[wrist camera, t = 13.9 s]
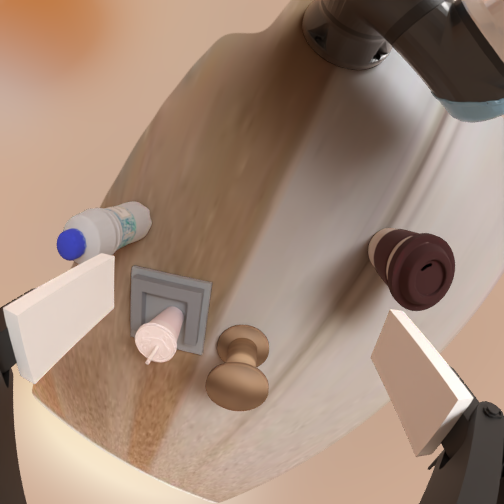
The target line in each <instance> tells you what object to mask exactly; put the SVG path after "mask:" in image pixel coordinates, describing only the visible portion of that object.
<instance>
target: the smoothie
mask: <svg viewBox="0 0 504 504" xmlns="http://www.w3.org/2000/svg"><path fill="white" fill-rule="evenodd" d="M183 320H184V315H183V313H182V311H181V310H180V309H179V308H177V307H174V306H170V307H167V308H166V309H165V310H163V311H162V312H161V313H160V314H159V315H157V316H156V317H155V318H154V319H152V320H151V321H150V322H149V323H146V324H143V325H142V326H140V328H139V329H138V331H137V332H136V335H135V343H136V346H137V348H138V350H139V351H140V352H141V354H142V355H144V356H145V357H146V358H148V359H147V360H146V362H145V363H146V364H147V365H149V363H150V362H151V360H152V361H155V362H166V361H168V360H170V359H171V358H172V357H173V355H174V354H175V352H176V350H177V339H178V336H179V333H180V330H181V326H182V323H183Z"/></svg>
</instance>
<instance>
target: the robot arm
mask: <svg viewBox="0 0 504 504" xmlns="http://www.w3.org/2000/svg"><path fill="white" fill-rule="evenodd" d="M302 28H303V33H304V36H305V38H306V40H307V42H308V44H309V45H310V46H311V48H312V49H313V50H314V51H315V52H316V53H317V54H318V55H320V56H321V57H322V58H324V59H325V60H327V61H329V62H330V63H332V64H335V65H337V66H340V67H343V68H347V69H354V70H363V69H369V68H372V67H375V66H377V65H378V64H380V63H381V62H382V61H383V60H384V59H385V58H386V57H387V56H388V55H389V53H390V51H391V49H392V47H393V48H394V49H395V50H396V51H397V52H398V53H399V54H400V55H401V56H402V57H403V58H404V59H405V60H406V62H407V63H408V64H409V65H410V66H411V67H412V68H413V69H414V71H415V72H416V73H417V74H418V75H419V76H420V78H421V79H422V80H423V81H424V82H425V84H426V85H427V86H428V87H429V88H430V90H431V93H432V94H433V96H434V97H435V98H436V99H438V100H439V101H440V102H441V104H442V105H443V106H444V107H445V109H446V110H447V111H448V112H449V114H450V115H451V116H452V117H454V118H456V119H458V120H460V121H463V122H481V121H486V120H490V119H493V118H496V117H499V116H501V115H503V114H504V0H456V1H454V0H314V1H313V2H312V3H311V4H310V5H309V6H308V7H307V9H306V11H305V14H304V18H303V23H302ZM114 260H115V256H112V255H108V254H104V253H101V254H99V255H97V256H95V257H93V258H91V259H89V260H87V261H85V262H83V263H81V264H79V265H77V266H76V267H74V268H72V269H70V270H68V271H66V272H65V273H63V274H61V275H59V276H57V277H56V278H53V279H52V280H50V281H48V282H46V283H45V284H43V285H41V286H39V287H37V288H34V289H31V290H30V291H28V292H26V293H24V295H21V296H20V297H18V298H17V299H14V300H12V301H11V302H9V303H7V304H6V305H4V306H2V307H1V308H0V504H27V503H26V499H25V495H24V491H23V486H22V481H21V476H20V470H19V464H18V458H17V450H16V441H15V430H14V414H13V372H12V369H11V367H12V366H13V365H14V364H16V363H17V366H18V369H19V373H20V375H21V376H22V377H23V378H25V379H27V380H28V381H30V382H32V383H33V384H36V383H37V382H38V381H39V380H40V379H41V378H42V377H43V376H44V375H45V374H46V373H47V372H48V371H49V370H50V369H51V368H52V367H53V366H54V365H55V364H56V363H57V362H58V361H59V360H60V359H61V358H62V357H63V356H64V355H65V354H66V353H67V352H68V351H69V350H70V349H71V348H72V347H73V346H74V345H75V344H76V343H77V342H78V341H79V340H80V339H81V338H82V337H83V336H85V335H86V334H87V333H88V332H89V331H90V330H91V329H92V328H93V327H94V326H95V325H96V324H97V323H98V322H99V321H101V320H102V319H103V318H104V317H105V316H106V315H107V314H108V313H109V312H110V311H111V310H112V309H114ZM371 359H372V361H373V363H374V365H375V367H376V369H377V372H378V374H379V376H380V378H381V380H382V382H383V384H384V386H385V388H386V390H387V393H388V395H389V397H390V399H391V401H392V403H393V406H394V408H395V410H396V412H397V414H398V417H399V419H400V421H401V423H402V425H403V428H404V430H405V432H406V435H407V437H408V439H409V442H410V444H411V446H412V449H413V451H414V454H415V456H416V457H418V456H424V455H430V454H432V453H433V452H434V451H435V450H436V449H437V447H438V446H439V445H440V444H442V446H443V448H444V450H443V451H442V453H441V454H440V455H439V456H438V457H437V458H436V459H435V460H434V462H433V463H432V464H431V465H430V466H429V467H428V469H429V470H430V469H431V468H432V467H433V466H435V468H434V471H433V473H432V476H431V478H430V481H429V483H428V485H427V488H426V490H425V492H424V494H423V497H422V499H421V501H420V503H419V504H504V416H503V413H502V411H501V410H500V409H499V408H498V407H497V406H496V405H494V404H492V403H490V402H487V401H485V402H480V403H479V402H478V400H477V399H476V397H475V396H474V395H473V393H472V392H471V391H470V390H469V388H468V387H467V385H466V384H464V382H463V380H462V379H461V378H459V375H458V374H457V373H456V371H455V370H454V369H453V368H452V367H450V366H449V365H448V364H447V363H446V362H445V360H444V359H443V358H442V357H441V355H440V354H439V353H438V352H437V350H436V349H435V348H434V347H433V346H432V344H431V343H430V342H429V341H428V340H427V338H426V337H425V336H424V335H423V334H422V333H421V331H420V330H419V329H418V328H417V327H416V326H415V324H414V323H413V322H412V321H411V320H410V319H409V318H408V316H407V315H406V314H405V313H404V312H403V311H399V310H392V309H390V310H389V313H388V315H387V318H386V321H385V323H384V326H383V328H382V331H381V333H380V336H379V338H378V341H377V343H376V346H375V348H374V350H373V353H372V355H371Z"/></svg>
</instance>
